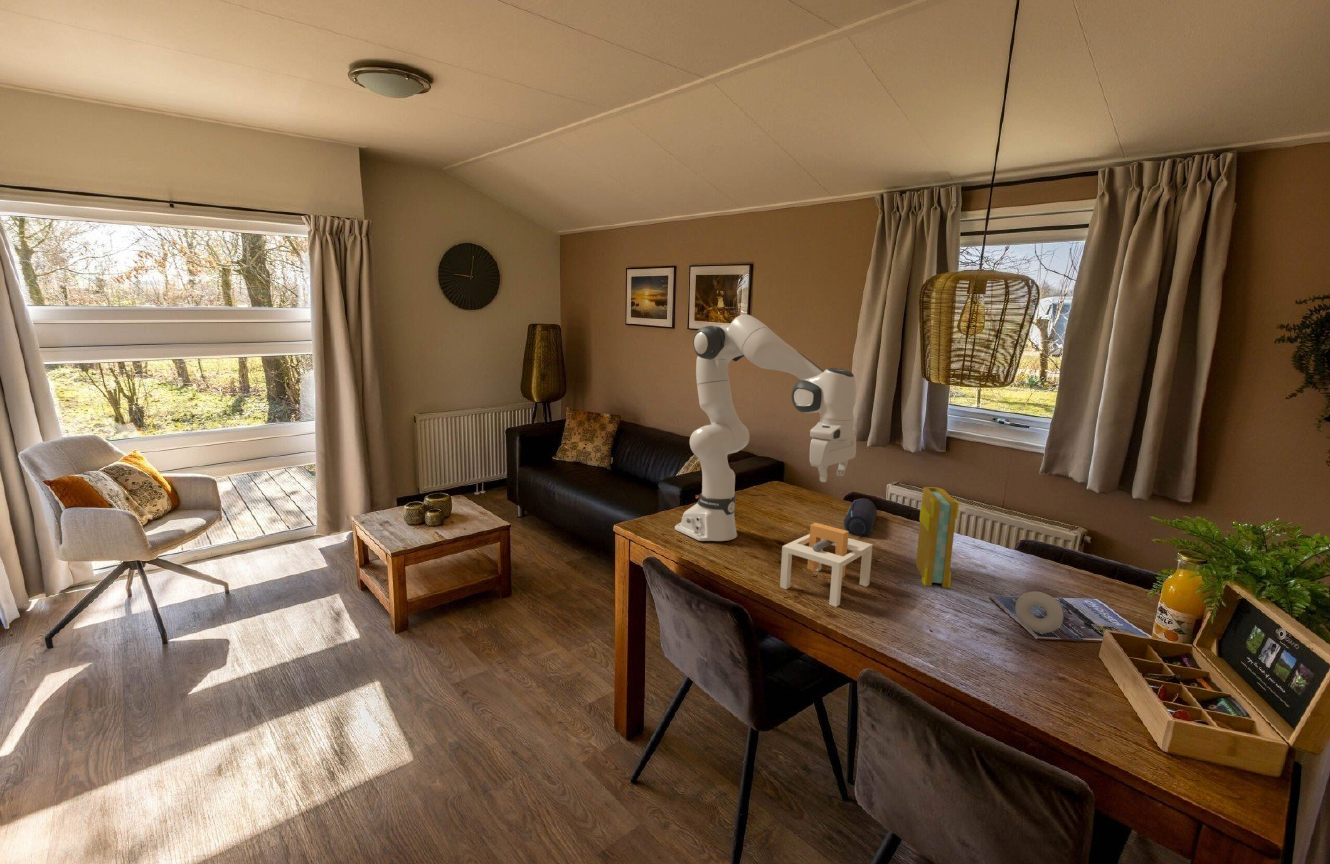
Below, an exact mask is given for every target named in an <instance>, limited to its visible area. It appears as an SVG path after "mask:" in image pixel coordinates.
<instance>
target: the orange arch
mask: <svg viewBox="0 0 1330 864" xmlns="http://www.w3.org/2000/svg"><path fill="white" fill-rule="evenodd" d="M809 527H810V528H809V534H810V538H809V542H808V547H813V545H814V544H816V543H818V542H820V541H821V538H822V539H825V540H829V541H832V542H836V546H835V549H834V550H835V551H834V554H836V555H839V556H845V555H847V554H848V549H847V545H848V538H849V534H850V533H849V531H846V529H841V528H837V527H834V526H829V525H825V524H822V523H819V522H813V523H812V524H810V526H809ZM818 568H819V562H816V561H812V560H809V559H807V566H806V569H808V570H810V571H813V572H814V571H815V570H816V569H818ZM846 569H847V564H846V565H845V566H843V570H842V579H843V578H844V577H845V576H846Z"/></svg>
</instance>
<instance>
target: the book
mask: <svg viewBox="0 0 1330 864" xmlns="http://www.w3.org/2000/svg"><path fill="white" fill-rule="evenodd" d="M921 499H922V500H921V504H920V509H919V511H920V512H919V529H918V538H917V549H916V558H915V565H916V568H917V570H918V572H919V574H920V576H921V582H922V584H923V586H924V587H925V586H927V587H932V586H933V585H932V584H933V583H935V584H940V586H941V588H943V589H944V588H945V589H950V588H951V582H952V581H951V580H952V571H951V564H952V563H951V561H952V554H953V545H954V537H955V526H956V520H958V515H959V507H960V502H959V501H958V500H957V499H956V498H953V497H952V496H951V495H950V494H949V493H948V492H947V491H946V490H945V489H943V488H941V487H936V486H934V487H933V486H925V487H923V489H922V497H921Z"/></svg>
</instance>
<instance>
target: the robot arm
mask: <svg viewBox="0 0 1330 864" xmlns="http://www.w3.org/2000/svg"><path fill="white" fill-rule="evenodd" d="M692 344H693V350H694V352H695V354H696V355H697V357H696V363H695V378H696V388H697V397H698V403H699V407H700V409H701V410H702V411H703V412H705V414H706V416H708V419H709V422H710V424H706V425H703V426H701V427H698V428H697V429H695V430H694V431H693V432H692V433H691V435H690V436H689V437H690V438H689V447H690V450H691V452H692V453H693V454H694V456H696V457H697V459H698V461H699V464H700V467H701V475H702V476H701V477H702V481H701V486H702V487H701V493H699V494H696V495H695V499H696V500H697V502H696V504H694V505H692V506H691V507H690V508H689V507H688V509H686V510H685V511H684V512H683V514H682V516H681V521H680V522H679V523H676V524H675V526H674V530H675V531H677V532H679V533H682V534H683V535H686V536H689V537H690V538H693V539H695V540H696V541H700V542H705V541H706V542H711V541H712V542H713V541H714V542H724V541H727V542H728V541H731V540H734V539H736V538H737V537H738V533H737V532H738V531H737V528H736V520H735V510H736V495H735V487H736V486H735V485H736V474H735V472H734V470H733V469H732V468H731V467H730V464H729V461H728V455H731V454H734V453H738V452H739V451H741V450H743V449H745V447H746V446H748V444H749V443H750V439H751V438H750V431H749V428H748V427H747V426H746V425H745V424H744V423H743V422H742V421H741V420H740V417H739V415H738V413H737V411H736V408H735V405H734V402H733V397H732V395H733V394H732V389H731V388H732V387H731V383H730V375H729V364H730V363H731V361H734V362H738V361H739V360H741V359H742V358H744V357H745V358H746V359H747V360H748V361H749V362H750V363H751V364H754V366H756V367H758V368H760V369H764V370H770V371H779V372H784V373H788V374H790V375H793V376H794V377H796V378H797V379H799V380H798V381H797V382H796V383H795V384H794V386H793V387H792V390H791V395H790V396H791V398H790V399H791V403H792V404H793V407H794V408H795V409H796V410H797V412H798V411H799V413H804V414H816V413H819V421H818V422H817V423H816V425H814V426H813V427H812V428H811V429H810V430H809V432H810V433H809V436H810V438H811V440H810V445H809V463H810V466H811V467H815V468H817V471H818V474H819V481H820V482H821V483H826V482H828V481H829V474H828V472H827V470H828V469H829V466H833V465H836V464H838V466H837V467H838V468H837V469H836V474H835V475H836V476H837V477H844V476H845V474H846V473H845V472H846V469H847V466H848V464H849V463H848V461H850V460H852V459H855V458H856V455H857V436H856V434H855V433H854V432H855V431H854V423H855V421H854V420H855V416H854V407H855V405H856V399H857V398H856V397H857V386H856V385H857V384H856V383H857V381H856V376H855V374H854V373H853V372H852V371H850V370H848V369H845V368H837V367H829V368H826V369H825V370H823V369H822V368H821V367H819V366H818V365H817V364H815V363H814V362H813V361H812V360H810V359H809V358H808V357H806V356H805V355H804V354H803V353H802V352H800V351H798V350H797V349H796V348H794V347H792V346H791V345H790V344H789V343H787V342H786V341H785V340H783V339H782V338H781V337H779V336H778V334H777V333H775V332H774V331H773V330H771V328H770V327H768V326H767V325H766V324H765V323H763V322H762V321H760V320H759V319H758V318H756V317H754V316H753V315H750V314H747V313H745V314H740V315H738V316H736V317H735V318H733V320H732V321H731V323H730V324H729V323H728V324H727V323H725V324H720V325H719V324H717V325H708V326H707V325H706V326H703V327H701V328H699V329H697V330H696V332H695V333H694V336H693V341H692Z"/></svg>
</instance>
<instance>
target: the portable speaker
mask: <svg viewBox="0 0 1330 864" xmlns="http://www.w3.org/2000/svg"><path fill="white" fill-rule="evenodd" d="M877 511H878V510H877V507H876V504H874V502H873V501H871V500H870V499H868V498H857V499H854V500H853V501H852V502H851V503H850V504H849V507H848V509H847V513H846V515H845V518H844V520H843V527H844V530H846V531H849V533H848V534H850V535H855V536H860V537H868V536H870V534H871V533H872V531H873V529H874V527H875V522H876V518H877V513H878V512H877Z"/></svg>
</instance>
